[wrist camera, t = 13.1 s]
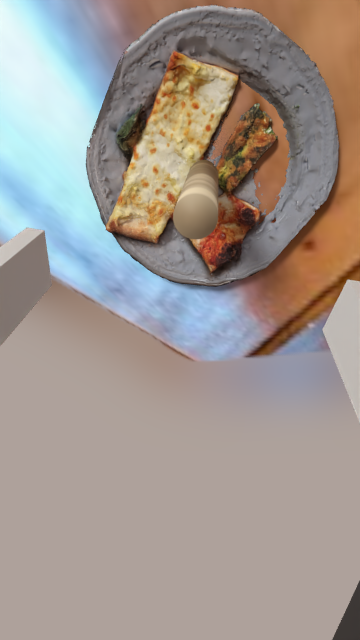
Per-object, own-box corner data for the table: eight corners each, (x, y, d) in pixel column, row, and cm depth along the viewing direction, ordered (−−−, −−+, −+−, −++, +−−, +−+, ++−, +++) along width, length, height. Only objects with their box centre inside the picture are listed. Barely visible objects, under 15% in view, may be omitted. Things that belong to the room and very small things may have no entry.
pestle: (190, 157, 31) (175, 190, 21) (221, 162, 31) (222, 198, 21) (186, 189, 33) (170, 235, 22) (215, 194, 33) (213, 242, 22)
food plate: (225, 308, 44) (225, 322, 41) (66, 213, 38) (53, 222, 35) (380, 126, 31) (397, 129, 28) (173, -56, 25) (167, -76, 22)
